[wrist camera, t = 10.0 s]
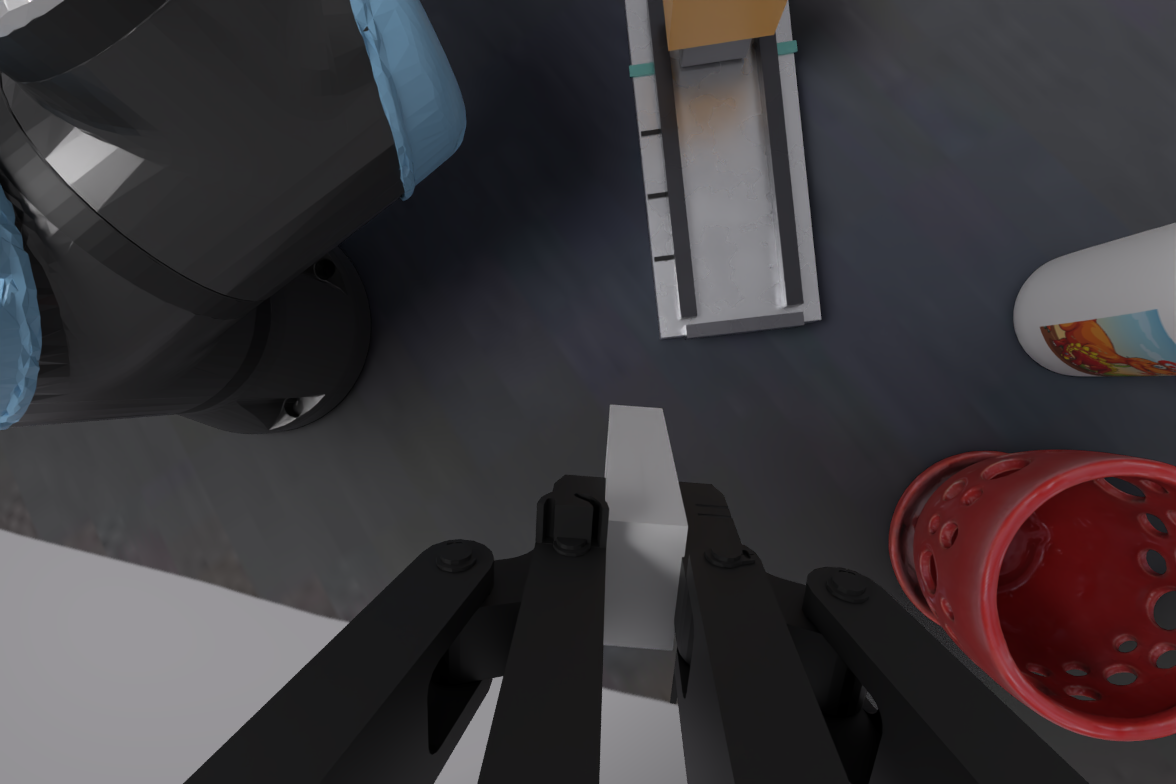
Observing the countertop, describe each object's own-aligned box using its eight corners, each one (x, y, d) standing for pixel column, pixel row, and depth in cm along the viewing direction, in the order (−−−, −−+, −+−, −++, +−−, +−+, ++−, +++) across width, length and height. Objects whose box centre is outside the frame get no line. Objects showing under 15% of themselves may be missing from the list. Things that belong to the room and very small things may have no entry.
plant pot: (991, 675, 38) (1151, 808, 26) (830, 545, 39) (915, 618, 27) (1129, 522, 38) (1359, 589, 26) (962, 392, 38) (1110, 398, 26)
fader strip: (815, 326, 39) (833, 321, 35) (657, 344, 40) (659, 341, 36) (779, -18, 39) (794, -58, 35) (621, 8, 40) (619, -29, 36)
